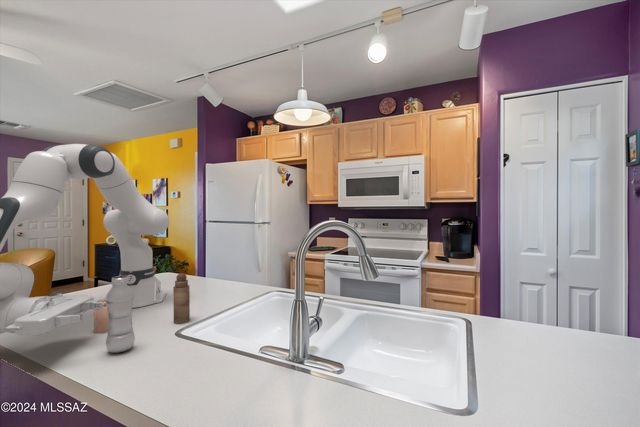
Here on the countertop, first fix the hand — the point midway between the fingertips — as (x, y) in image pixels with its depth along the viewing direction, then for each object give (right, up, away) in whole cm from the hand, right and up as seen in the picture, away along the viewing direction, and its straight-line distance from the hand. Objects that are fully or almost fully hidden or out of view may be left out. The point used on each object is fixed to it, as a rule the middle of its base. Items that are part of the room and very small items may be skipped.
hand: (92, 311), depth 80 cm
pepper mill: (+14, -11, +22) cm, 28 cm away
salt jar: (-7, -11, +15) cm, 20 cm away
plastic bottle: (+7, -11, +1) cm, 13 cm away
